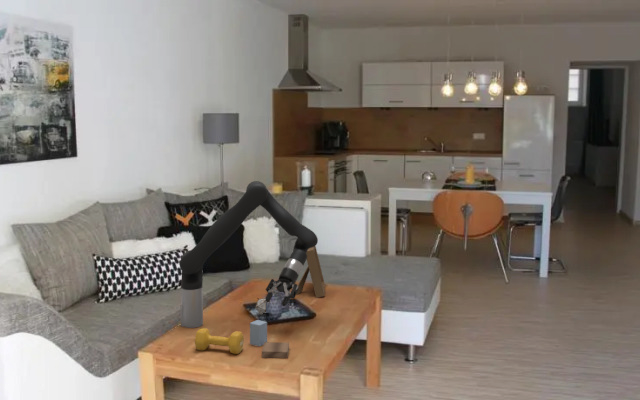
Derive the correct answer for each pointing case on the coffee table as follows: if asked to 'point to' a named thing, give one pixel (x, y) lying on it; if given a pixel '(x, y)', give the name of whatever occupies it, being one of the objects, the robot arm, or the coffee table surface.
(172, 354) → the coffee table surface
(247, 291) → the coffee table surface
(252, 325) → the pillar
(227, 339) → the dumbbell
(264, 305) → the game die
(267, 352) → the slab
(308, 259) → the photo frame
